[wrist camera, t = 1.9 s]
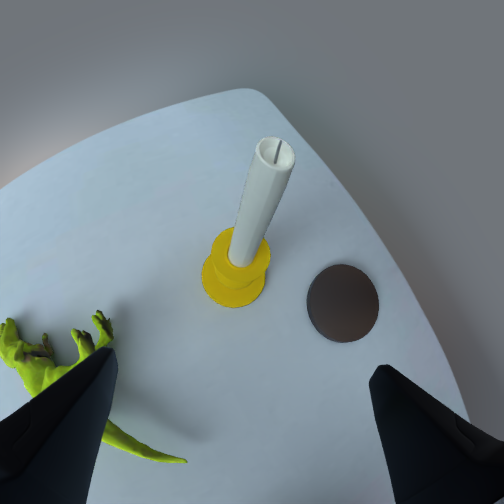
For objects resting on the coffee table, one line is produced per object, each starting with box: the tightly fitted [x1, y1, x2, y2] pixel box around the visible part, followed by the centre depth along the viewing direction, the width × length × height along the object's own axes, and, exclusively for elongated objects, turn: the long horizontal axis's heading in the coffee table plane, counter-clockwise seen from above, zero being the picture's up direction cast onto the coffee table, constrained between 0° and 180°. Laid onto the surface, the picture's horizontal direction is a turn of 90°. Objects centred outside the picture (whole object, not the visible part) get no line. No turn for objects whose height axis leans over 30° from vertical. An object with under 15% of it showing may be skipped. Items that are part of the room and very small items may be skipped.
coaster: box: [307, 264, 379, 343], centre depth 23 cm, size 7×7×1 cm
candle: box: [202, 136, 295, 308], centre depth 16 cm, size 5×5×16 cm
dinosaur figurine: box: [0, 310, 187, 463], centre depth 15 cm, size 20×10×6 cm, turn 79°
